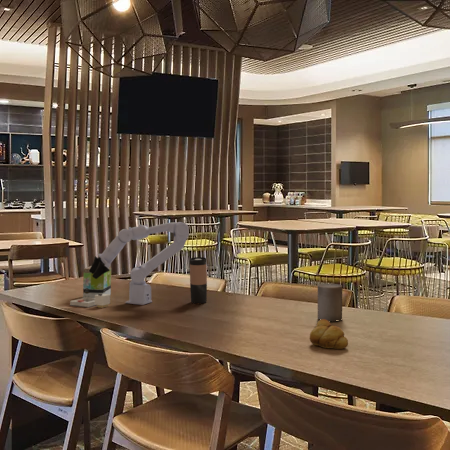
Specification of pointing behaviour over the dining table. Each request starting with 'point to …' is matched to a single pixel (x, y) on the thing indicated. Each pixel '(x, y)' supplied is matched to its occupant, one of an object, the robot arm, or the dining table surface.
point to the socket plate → (83, 302)
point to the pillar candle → (330, 302)
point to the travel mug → (198, 280)
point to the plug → (102, 300)
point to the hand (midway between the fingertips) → (92, 275)
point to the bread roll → (328, 335)
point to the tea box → (96, 283)
